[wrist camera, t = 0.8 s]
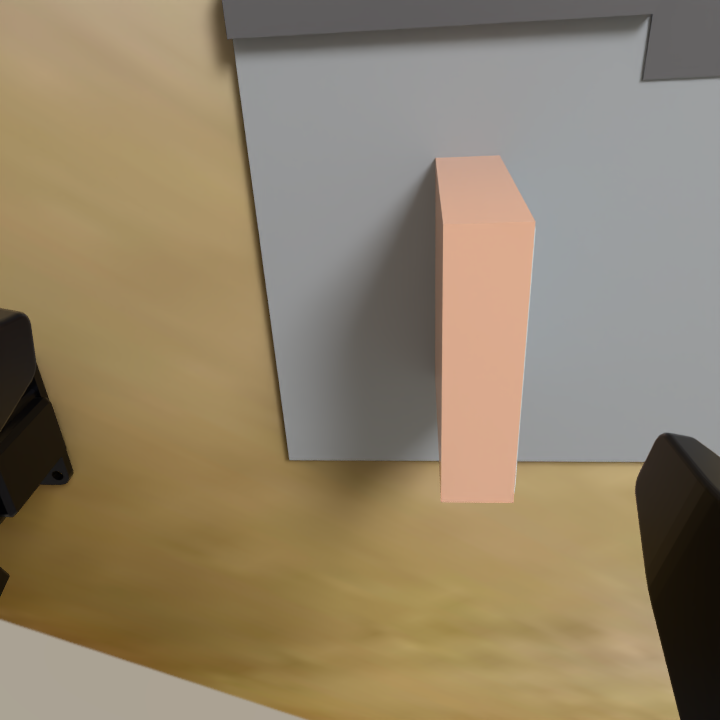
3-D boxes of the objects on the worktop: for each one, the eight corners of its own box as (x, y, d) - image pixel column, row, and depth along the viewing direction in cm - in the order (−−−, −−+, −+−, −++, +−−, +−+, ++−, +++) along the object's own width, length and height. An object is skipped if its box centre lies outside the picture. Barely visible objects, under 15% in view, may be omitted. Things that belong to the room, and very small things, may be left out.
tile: (435, 375, 24) (440, 502, 18) (435, 157, 20) (443, 224, 14) (490, 375, 24) (515, 502, 18) (501, 155, 20) (537, 221, 14)
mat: (291, 454, 27) (289, 459, 27) (234, 26, 19) (230, 26, 19) (740, 456, 25) (745, 462, 25) (876, -13, 18) (885, -13, 17)
